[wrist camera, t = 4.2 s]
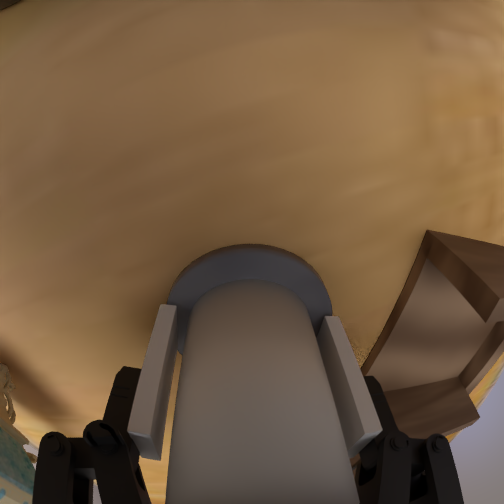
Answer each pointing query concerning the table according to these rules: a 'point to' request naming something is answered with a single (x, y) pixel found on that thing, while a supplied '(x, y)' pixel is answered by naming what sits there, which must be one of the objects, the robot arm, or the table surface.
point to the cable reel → (254, 385)
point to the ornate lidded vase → (13, 452)
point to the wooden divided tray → (441, 336)
